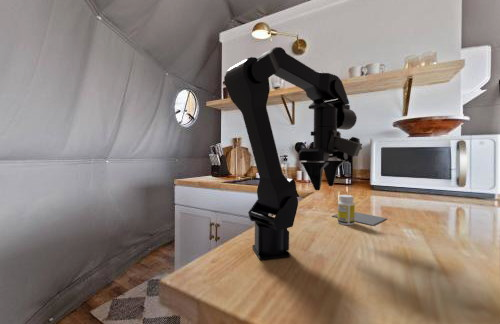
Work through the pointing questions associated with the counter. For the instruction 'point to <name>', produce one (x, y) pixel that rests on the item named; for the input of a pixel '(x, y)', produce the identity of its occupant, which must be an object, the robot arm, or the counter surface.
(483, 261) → the counter surface
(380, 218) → the mat
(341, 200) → the supplement bottle
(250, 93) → the robot arm
